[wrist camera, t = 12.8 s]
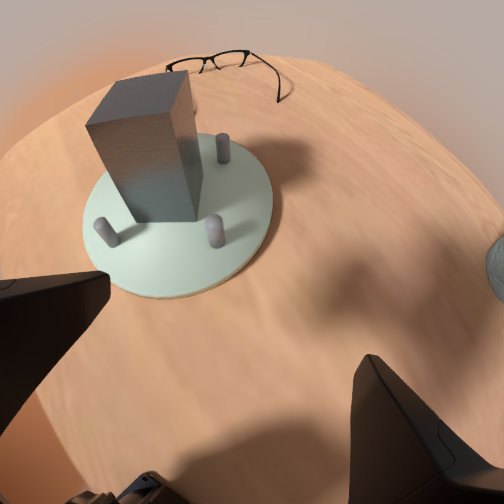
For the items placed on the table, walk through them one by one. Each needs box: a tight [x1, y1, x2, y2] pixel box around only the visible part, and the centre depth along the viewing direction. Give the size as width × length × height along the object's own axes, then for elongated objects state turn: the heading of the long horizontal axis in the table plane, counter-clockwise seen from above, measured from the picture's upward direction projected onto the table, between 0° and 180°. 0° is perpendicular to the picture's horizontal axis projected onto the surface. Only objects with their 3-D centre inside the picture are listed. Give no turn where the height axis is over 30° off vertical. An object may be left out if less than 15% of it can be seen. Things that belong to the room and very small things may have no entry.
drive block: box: [85, 70, 203, 223], centre depth 20 cm, size 6×6×12 cm
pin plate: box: [83, 133, 273, 299], centre depth 25 cm, size 20×20×4 cm
